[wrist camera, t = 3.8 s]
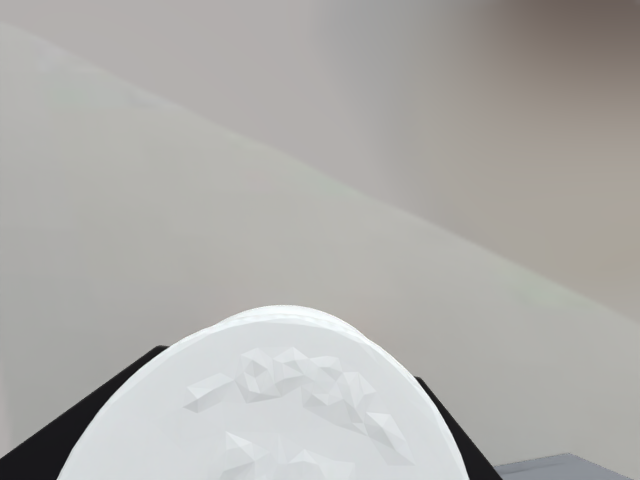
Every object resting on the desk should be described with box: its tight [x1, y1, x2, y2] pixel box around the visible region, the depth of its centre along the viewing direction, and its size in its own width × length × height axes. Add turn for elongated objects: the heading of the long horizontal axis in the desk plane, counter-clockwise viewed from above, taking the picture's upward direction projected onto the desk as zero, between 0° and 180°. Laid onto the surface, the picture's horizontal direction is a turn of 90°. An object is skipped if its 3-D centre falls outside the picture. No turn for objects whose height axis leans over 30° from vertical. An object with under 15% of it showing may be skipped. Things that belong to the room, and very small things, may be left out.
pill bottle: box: [57, 305, 469, 480], centre depth 9 cm, size 6×6×11 cm
